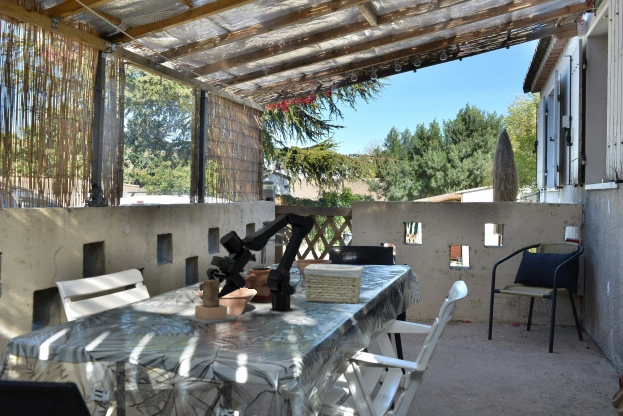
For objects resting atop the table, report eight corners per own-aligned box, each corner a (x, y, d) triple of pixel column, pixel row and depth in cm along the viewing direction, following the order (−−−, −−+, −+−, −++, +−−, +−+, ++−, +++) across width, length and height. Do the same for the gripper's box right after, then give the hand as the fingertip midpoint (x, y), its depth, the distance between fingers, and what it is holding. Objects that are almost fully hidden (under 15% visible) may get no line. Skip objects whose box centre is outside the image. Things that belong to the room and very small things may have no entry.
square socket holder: (217, 314, 222) (217, 301, 222) (236, 320, 212) (237, 306, 212) (185, 318, 213) (185, 305, 213) (204, 324, 203) (204, 310, 203)
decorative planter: (259, 306, 241) (259, 271, 241) (233, 303, 247) (234, 269, 246) (284, 299, 258) (284, 267, 258) (260, 297, 264) (260, 265, 264)
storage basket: (363, 298, 264) (363, 265, 264) (359, 304, 248) (360, 269, 248) (309, 296, 269) (310, 263, 268) (302, 302, 253) (303, 267, 252)
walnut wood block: (212, 315, 215) (213, 279, 215) (218, 317, 212) (219, 280, 212) (203, 317, 213) (203, 280, 213) (209, 318, 210) (209, 281, 210)
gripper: (210, 246, 223) (183, 278, 216) (239, 249, 209) (211, 284, 202) (228, 266, 228) (203, 298, 221) (257, 270, 214) (231, 305, 207)
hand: (211, 295), depth 213 cm, fingers open, 9 cm apart
